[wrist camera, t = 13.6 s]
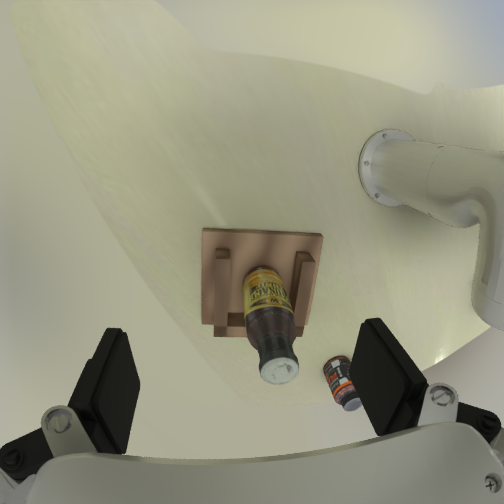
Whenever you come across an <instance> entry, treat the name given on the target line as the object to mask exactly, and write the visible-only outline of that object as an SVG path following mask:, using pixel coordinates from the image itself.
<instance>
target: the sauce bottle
mask: <svg viewBox="0 0 504 504" xmlns="http://www.w3.org/2000/svg"><path fill="white" fill-rule="evenodd" d="M242 293H243V304H244V317H245V325H246V332H247V337H248V340H249V342H250V343H251V345H252V346H253V347H254V348H255V349H256V350H258V353H259V357H260V363H259V371H260V375H261V377H262V379H263V380H264V381H266V382H267V383H270V384H285V383H288V382H289V381H291V380H293V379H294V378H295V377H296V376H297V374H298V372H299V363H298V359H297V357H296V356H295V354H294V352H293V348H292V344H293V342H294V340H295V339H296V327H295V318H294V314H293V311H292V307H291V304H290V301H289V298H288V295H287V292H286V289H285V286H284V283H283V281H282V279H281V277H280V276H279V274H278V273H277V272H276V271H275V270H273V269H271V268H269V267H258V268H255V269H253V270H251V271H250V272H249V273H248V274H247V275H246V277H245V279H244V281H243V286H242Z"/></svg>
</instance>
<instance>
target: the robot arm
mask: <svg viewBox="0 0 504 504" xmlns="http://www.w3.org/2000/svg"><path fill="white" fill-rule="evenodd" d="M364 161H365V164H364ZM359 174H360V179H361V182H362V185H363V187H364V189H365V191H366V192H367V193H368V195H369V196H370V197H371V198H372V199H374V200H375V201H376V202H378V203H380V204H383V205H385V206H391V207H394V206H400V205H403V204H406V205H408V206H410V207H412V208H414V209H416V210H418V211H421V212H423V213H425V214H427V215H429V216H431V217H433V218H435V219H437V220H439V221H441V222H443V223H445V224H447V225H450V226H452V227H457V228H467V227H471V226H474V225H476V224H478V223H480V230H479V245H478V253H477V260H476V266H475V273H474V280H473V286H472V304H473V307H474V310H475V312H476V313H477V315H478V316H479V317H480V318H481V319H482V320H483V321H484V322H486V323H487V324H489V325H490V326H492V327H495V328H497V329H500V330H503V331H504V151H484V150H475V149H469V148H462V147H456V146H448V145H442V144H434V143H427V142H419V141H416V140H415V139H414V138H413V137H412V136H410V135H409V134H407V133H406V132H403V131H401V130H395V129H387V130H382V131H380V132H378V133H376V134H375V135H373V136H372V137H371V138H370V139H369V140H368V141H367V142H366V144H365V146H364V148H363V150H362V153H361V155H360V161H359ZM375 194H376V195H375ZM349 377H350V380H351V382H352V384H353V386H354V388H355V390H356V392H357V394H358V396H359V398H360V400H361V402H362V405H363V406H364V409H365V411H366V413H367V415H368V417H369V419H370V421H371V423H372V426H373V428H374V430H375V432H376V434H377V435H378V436H380V437H376V438H372V439H368V440H365V441H360V442H356V443H351V444H347V445H342V446H338V447H332V448H326V449H321V450H314V451H309V452H302V453H294V454H287V455H278V456H268V457H256V458H242V459H208V460H207V459H203V460H202V459H196V460H195V459H169V458H152V457H140V456H129V455H122V454H125V453H126V449H127V445H128V440H129V435H130V430H131V426H132V421H133V416H134V412H135V408H136V403H137V399H138V395H139V391H140V380H139V376H138V373H137V370H136V366H135V363H134V359H133V355H132V352H131V348H130V344H129V340H128V336H127V333H126V332H123V331H122V329H121V328H107V329H106V331H105V332H104V335H103V336H102V339H101V341H100V343H99V345H98V347H97V349H96V351H95V353H94V355H93V357H92V359H89V360H88V361H87V363H86V365H85V367H84V369H83V371H82V374H81V376H80V378H79V380H78V382H77V385H76V387H75V389H74V392H73V394H72V396H71V398H70V401H69V403H68V406H61V405H59V406H55V407H52V408H50V409H48V410H47V411H46V412H45V413H44V414H43V416H42V419H41V428H39V429H37V430H35V431H33V432H31V433H29V434H26V435H24V436H22V437H20V438H18V439H16V440H13V441H11V442H9V443H7V444H5V445H4V446H2V448H1V449H0V504H504V428H502V427H501V422H500V420H499V418H498V417H497V415H495V414H494V413H492V412H490V411H487V410H484V409H480V408H477V407H474V406H471V405H468V404H464V403H461V402H458V394H457V392H456V391H455V390H454V388H452V387H451V386H449V385H447V384H444V383H434V384H432V385H430V386H429V385H428V383H427V380H426V378H425V377H424V376H423V374H422V373H421V371H420V370H419V369H418V367H417V366H416V365H415V363H414V362H413V360H412V359H411V358H410V356H409V355H408V354H407V352H406V351H405V350H404V348H403V347H402V346H401V344H400V343H399V342H398V340H397V339H396V338H395V337H394V335H393V334H392V333H391V331H390V330H389V329H388V327H387V326H386V325H385V324H384V322H383V321H382V320H381V319H380V318H371V319H366V320H365V322H364V323H362V324H361V327H360V331H359V335H358V339H357V343H356V347H355V350H354V354H353V358H352V361H351V365H350V369H349Z"/></svg>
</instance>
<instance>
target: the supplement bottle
mask: <svg viewBox="0 0 504 504" xmlns="http://www.w3.org/2000/svg"><path fill="white" fill-rule="evenodd" d="M350 365H351V362H350V360H349V359H348V358H346V357H336V358H333V359H331V360H330V361H329V362H328V363H327V364H326V365H325V367H324V374H325V377H326V379H327V382H328V384H329V387H330V389H331V392H332V394H333V397H334V399H335V401H336V403H338V404H340V405H342V406H343V408H344V410H345V411H354V410H356V409H358V408H359V407H361V406H362V402H361V400H360V398H359V396H358V394H357V392H356V390H355V388H354V386H353V384H352V382H351V380H350V377H349V369H350Z"/></svg>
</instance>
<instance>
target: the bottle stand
mask: <svg viewBox="0 0 504 504" xmlns="http://www.w3.org/2000/svg"><path fill="white" fill-rule="evenodd" d="M322 242H323V236H322V235H321V234H315V233H296V232H277V231H256V230H233V229H208V228H203V237H202V324H210V325H214V337H247V332H246V325H245V317H244V304H243V293H242V286H243V281H244V279H245V277H246V275H247V274H248V273H249V272H250V271H251V270H253V269H255V268H258V267H269V268H271V269H273V270H275V271H276V272H277V273H278V274H279V276H280V277H281V279H282V281H283V283H284V286H285V289H286V292H287V295H288V298H289V301H290V304H291V307H292V311H293V314H294V318H295V327H296V337H302V335H303V330H304V325H307V324H308V319H309V314H310V309H311V304H312V299H313V293H314V288H315V283H316V277H317V272H318V266H319V260H320V254H321V248H322Z"/></svg>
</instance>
